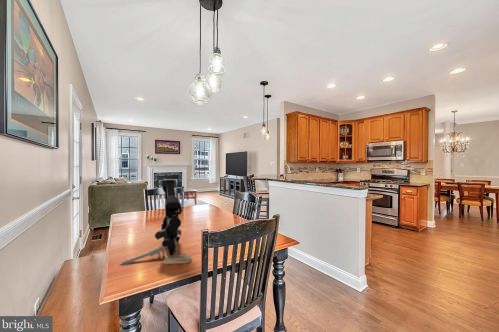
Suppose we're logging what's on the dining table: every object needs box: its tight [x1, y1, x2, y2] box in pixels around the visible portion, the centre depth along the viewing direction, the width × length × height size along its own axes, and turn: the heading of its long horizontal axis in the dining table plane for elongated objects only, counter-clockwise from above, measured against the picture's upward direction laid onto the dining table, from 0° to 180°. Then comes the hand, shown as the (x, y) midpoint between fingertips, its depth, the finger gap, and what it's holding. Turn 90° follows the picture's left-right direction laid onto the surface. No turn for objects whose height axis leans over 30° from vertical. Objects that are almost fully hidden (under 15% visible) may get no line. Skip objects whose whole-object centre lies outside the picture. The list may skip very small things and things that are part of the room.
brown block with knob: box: [166, 242, 179, 256], centre depth 111 cm, size 4×4×6 cm
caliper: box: [119, 245, 165, 266], centre depth 107 cm, size 20×1×6 cm, turn 120°
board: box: [164, 254, 192, 265], centre depth 106 cm, size 4×12×2 cm, turn 98°
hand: (172, 253), depth 111 cm, fingers open, 5 cm apart
